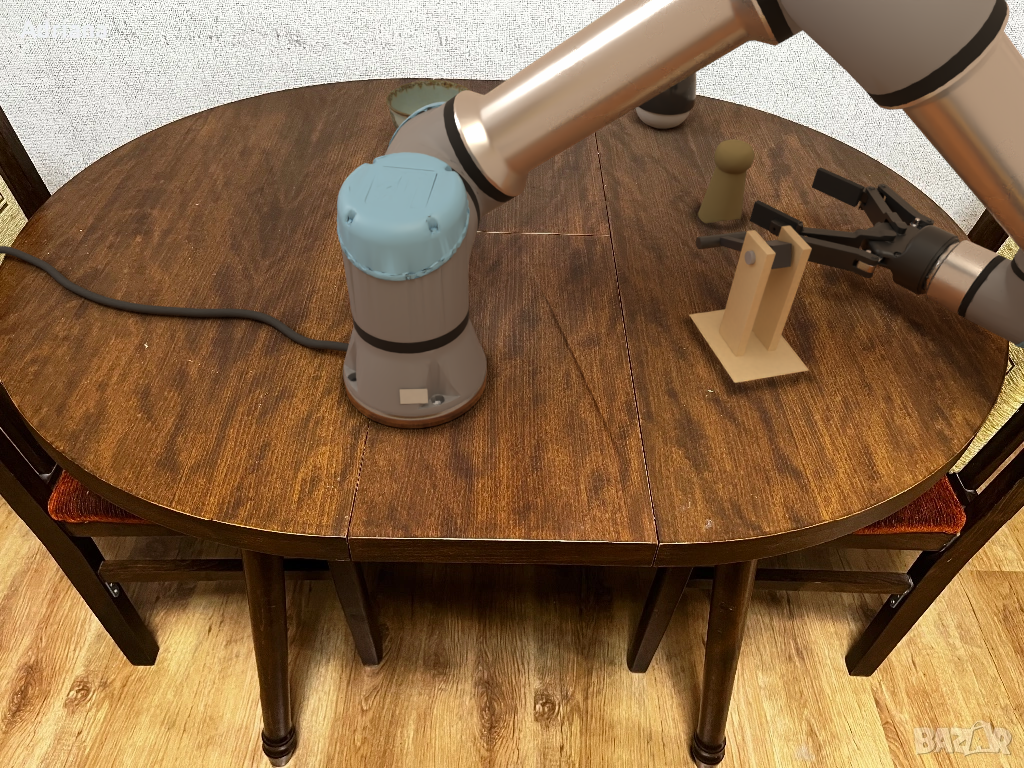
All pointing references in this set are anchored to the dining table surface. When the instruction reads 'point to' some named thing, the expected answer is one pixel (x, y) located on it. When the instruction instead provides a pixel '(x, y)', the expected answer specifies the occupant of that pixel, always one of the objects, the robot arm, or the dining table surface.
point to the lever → (736, 243)
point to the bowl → (419, 97)
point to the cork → (727, 182)
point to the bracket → (757, 311)
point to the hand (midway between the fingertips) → (785, 193)
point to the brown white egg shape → (670, 105)
